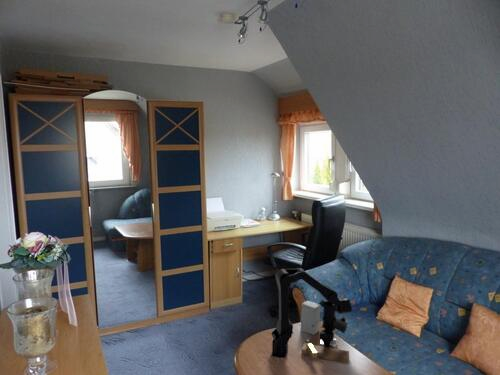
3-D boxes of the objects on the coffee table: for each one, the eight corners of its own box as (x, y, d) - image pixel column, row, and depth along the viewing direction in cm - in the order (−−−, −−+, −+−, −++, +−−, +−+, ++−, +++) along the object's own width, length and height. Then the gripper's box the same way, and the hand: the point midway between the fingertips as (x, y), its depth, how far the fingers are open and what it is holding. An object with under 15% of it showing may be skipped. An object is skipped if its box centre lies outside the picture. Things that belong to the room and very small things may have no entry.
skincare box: (300, 330, 194) (300, 303, 192) (306, 326, 199) (306, 299, 197) (314, 335, 189) (315, 307, 187) (320, 331, 194) (320, 303, 192)
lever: (304, 345, 173) (304, 339, 173) (309, 344, 174) (309, 338, 174) (312, 358, 163) (312, 351, 163) (317, 357, 163) (318, 351, 163)
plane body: (301, 355, 171) (301, 349, 171) (303, 349, 176) (303, 343, 176) (348, 364, 164) (348, 357, 164) (348, 357, 170) (349, 351, 169)
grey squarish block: (319, 349, 176) (320, 342, 175) (321, 342, 182) (322, 335, 181) (334, 351, 173) (335, 344, 173) (336, 344, 180) (336, 338, 179)
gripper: (345, 325, 164) (343, 358, 166) (347, 308, 182) (346, 338, 184) (319, 321, 168) (318, 354, 170) (325, 305, 185) (324, 334, 187)
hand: (328, 344), depth 177 cm, fingers open, 7 cm apart
